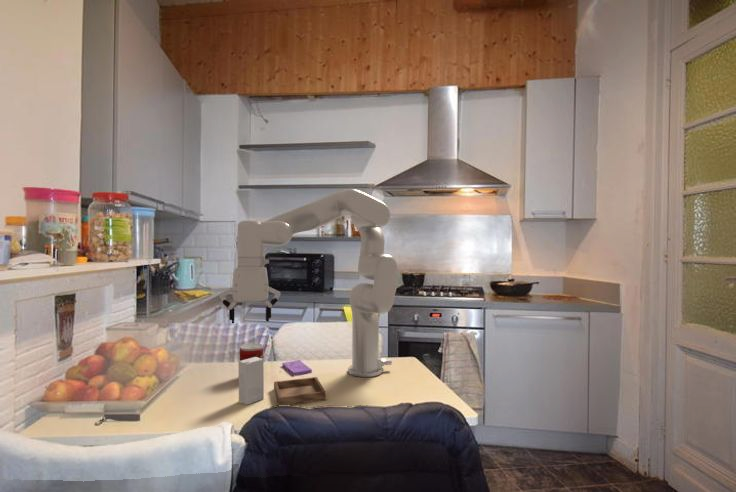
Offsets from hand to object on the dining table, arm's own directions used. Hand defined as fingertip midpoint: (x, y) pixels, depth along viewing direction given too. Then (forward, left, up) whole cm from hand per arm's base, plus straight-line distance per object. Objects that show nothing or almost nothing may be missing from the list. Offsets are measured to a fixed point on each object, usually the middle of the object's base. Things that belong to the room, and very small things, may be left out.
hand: (250, 321), depth 117 cm
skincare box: (0, 0, -24) cm, 24 cm away
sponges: (-17, -25, -24) cm, 38 cm away
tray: (-14, 0, -23) cm, 27 cm away
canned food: (-1, -20, -24) cm, 31 cm away
